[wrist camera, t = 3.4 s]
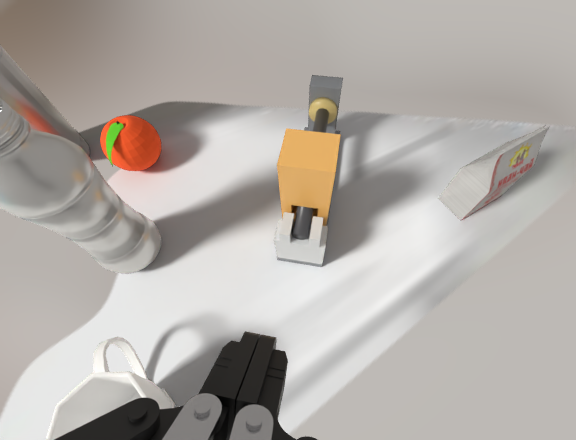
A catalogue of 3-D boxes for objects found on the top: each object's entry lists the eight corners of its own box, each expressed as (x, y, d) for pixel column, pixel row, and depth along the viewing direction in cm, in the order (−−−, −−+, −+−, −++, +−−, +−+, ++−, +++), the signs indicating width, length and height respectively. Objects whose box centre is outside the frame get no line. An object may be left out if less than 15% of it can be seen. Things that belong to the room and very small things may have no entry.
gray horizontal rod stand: (321, 266, 33) (328, 230, 25) (277, 259, 33) (270, 221, 25) (339, 135, 42) (348, 78, 34) (304, 131, 42) (306, 74, 35)
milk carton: (437, 198, 36) (482, 140, 28) (477, 175, 38) (531, 113, 29) (460, 220, 35) (514, 167, 26) (500, 196, 36) (564, 137, 28)
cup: (117, 482, 24) (42, 524, 17) (102, 360, 29) (37, 353, 22) (199, 439, 25) (160, 462, 18) (172, 328, 30) (133, 312, 23)
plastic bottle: (179, 249, 34) (52, 110, 17) (128, 292, 32) (-80, 183, 14) (147, 217, 36) (7, 64, 19) (98, 254, 34) (-113, 121, 17)
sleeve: (325, 228, 31) (335, 172, 23) (282, 222, 31) (276, 164, 23) (330, 197, 33) (340, 134, 24) (289, 191, 33) (286, 128, 25)
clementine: (156, 190, 38) (128, 153, 32) (107, 185, 39) (70, 148, 33) (176, 145, 42) (155, 103, 36) (131, 140, 43) (102, 99, 37)
